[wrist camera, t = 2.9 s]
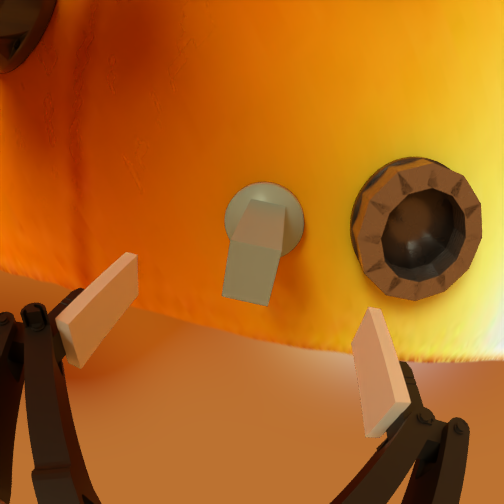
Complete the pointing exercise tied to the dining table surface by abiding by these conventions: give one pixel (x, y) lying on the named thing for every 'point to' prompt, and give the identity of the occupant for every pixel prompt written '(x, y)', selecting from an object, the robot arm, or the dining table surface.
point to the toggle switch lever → (259, 239)
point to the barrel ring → (415, 227)
